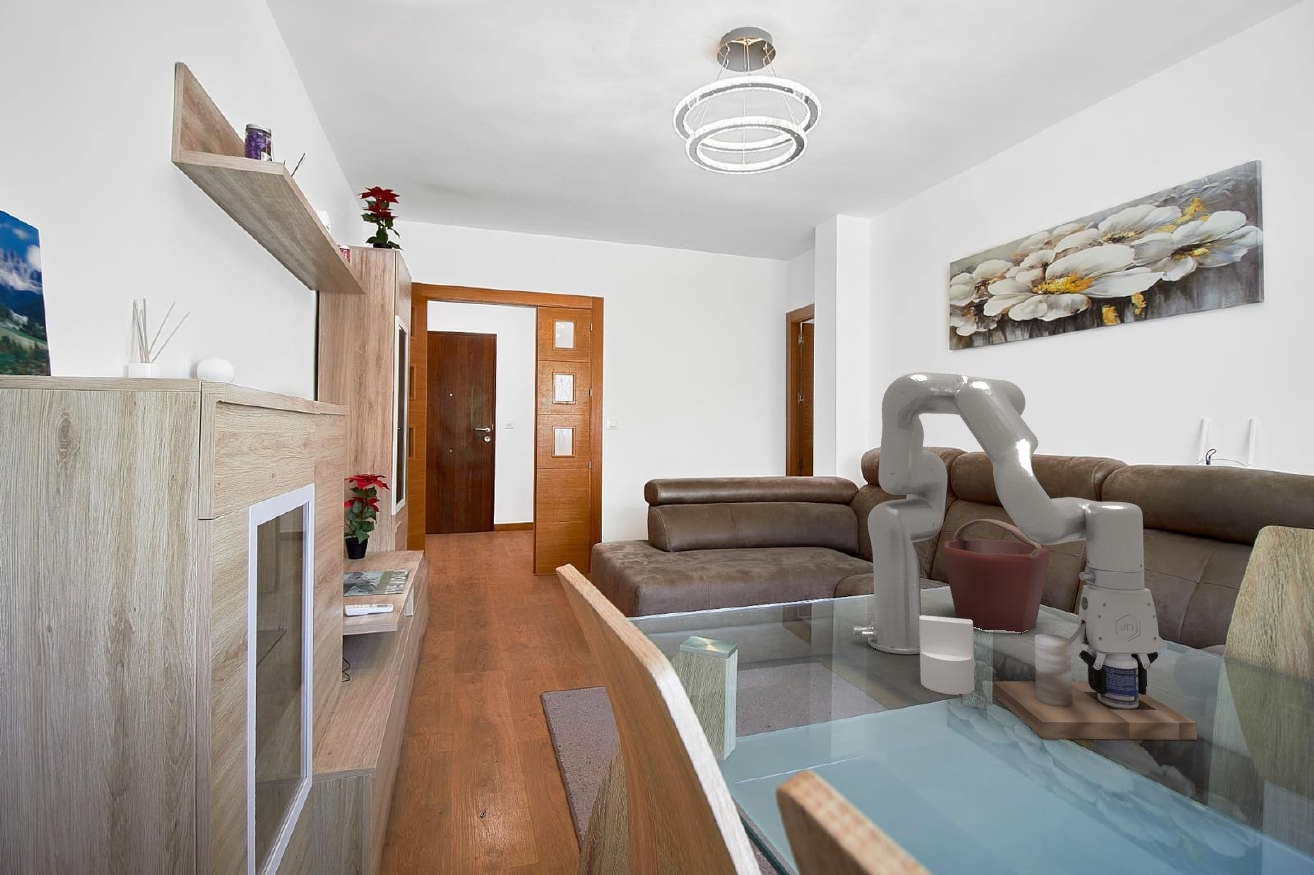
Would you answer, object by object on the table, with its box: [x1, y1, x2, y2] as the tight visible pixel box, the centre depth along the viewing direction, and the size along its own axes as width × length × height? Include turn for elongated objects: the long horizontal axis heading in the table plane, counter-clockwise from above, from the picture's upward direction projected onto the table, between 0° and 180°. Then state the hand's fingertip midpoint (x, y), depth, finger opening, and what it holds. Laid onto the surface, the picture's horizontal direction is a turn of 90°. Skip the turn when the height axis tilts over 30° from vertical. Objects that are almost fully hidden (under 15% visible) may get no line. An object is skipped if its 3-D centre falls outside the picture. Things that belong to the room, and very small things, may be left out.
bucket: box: [943, 518, 1050, 633], centre depth 153 cm, size 24×22×25 cm
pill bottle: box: [1097, 654, 1139, 710], centre depth 103 cm, size 5×5×10 cm
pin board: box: [992, 633, 1198, 741], centre depth 103 cm, size 22×16×12 cm
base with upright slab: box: [919, 614, 975, 696], centre depth 117 cm, size 9×9×12 cm
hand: (1117, 690), depth 103 cm, fingers closed on pill bottle, 5 cm apart
